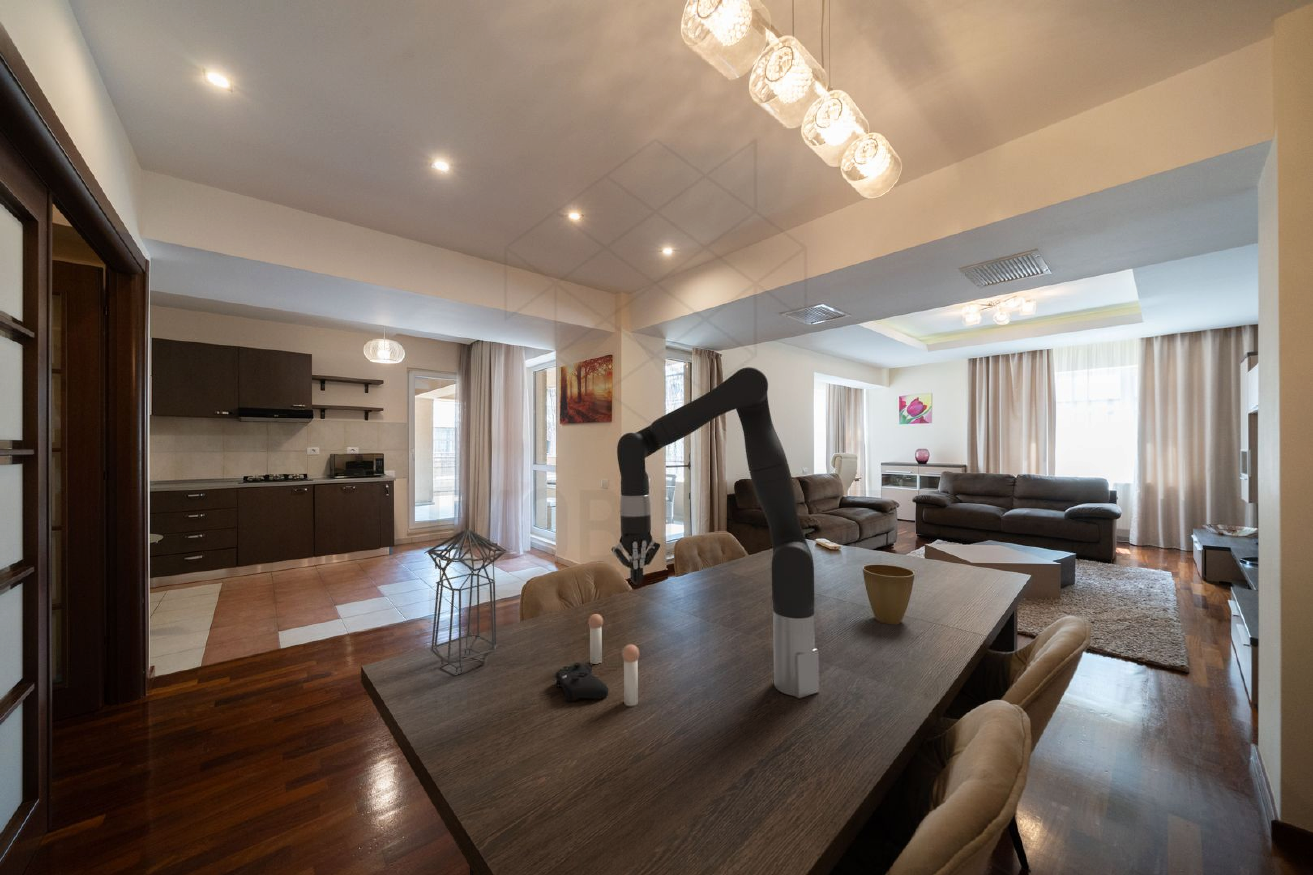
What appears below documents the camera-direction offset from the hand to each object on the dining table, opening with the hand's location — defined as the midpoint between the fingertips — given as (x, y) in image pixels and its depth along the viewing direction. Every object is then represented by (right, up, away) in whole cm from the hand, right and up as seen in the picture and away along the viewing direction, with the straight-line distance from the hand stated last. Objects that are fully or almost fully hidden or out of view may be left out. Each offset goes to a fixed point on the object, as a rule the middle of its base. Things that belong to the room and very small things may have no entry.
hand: (637, 583), depth 118 cm
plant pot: (+79, -22, +33) cm, 88 cm away
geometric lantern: (-44, -23, +4) cm, 50 cm away
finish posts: (-6, -22, -4) cm, 23 cm away
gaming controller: (-13, -23, -8) cm, 27 cm away
